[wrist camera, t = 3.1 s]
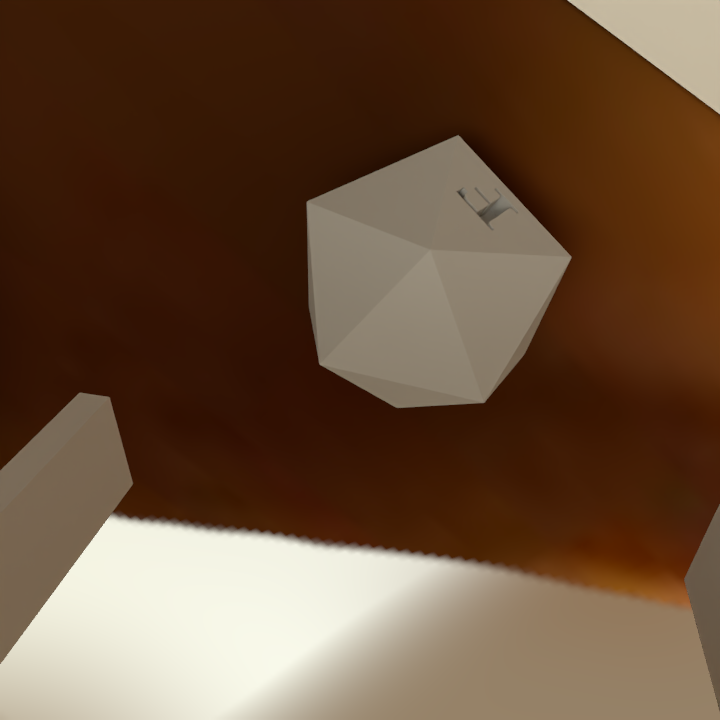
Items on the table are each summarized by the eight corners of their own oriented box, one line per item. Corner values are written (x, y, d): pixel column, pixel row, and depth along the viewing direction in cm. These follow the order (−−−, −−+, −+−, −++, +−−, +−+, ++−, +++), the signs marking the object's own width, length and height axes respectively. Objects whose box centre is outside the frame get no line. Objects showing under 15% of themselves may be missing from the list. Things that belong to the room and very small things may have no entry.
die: (566, 311, 26) (667, 256, 16) (407, 449, 26) (408, 480, 16) (434, 166, 27) (451, 28, 17) (280, 300, 27) (206, 242, 17)
